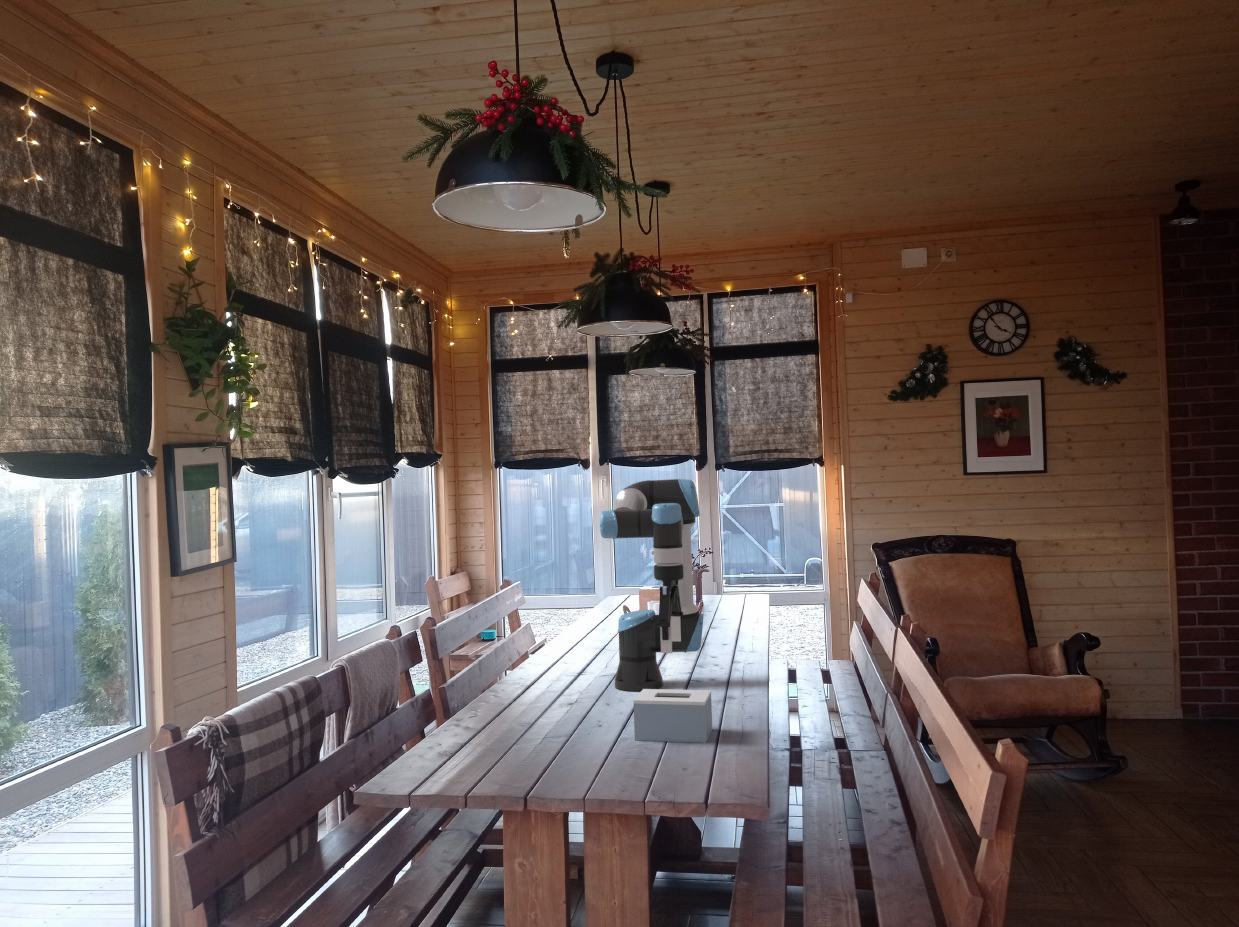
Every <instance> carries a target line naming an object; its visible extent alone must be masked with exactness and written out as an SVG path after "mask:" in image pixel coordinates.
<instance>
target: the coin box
mask: <svg viewBox="0 0 1239 927" xmlns="http://www.w3.org/2000/svg"><path fill="white" fill-rule="evenodd" d="M632 702H633V724H634V728H633V729H634V730H633V732H634V741H646V742H648V741H649V742H673V743H674V742H675V743H676V742H677V743H678V742H679V743H700V744H701V743H704V744H707V742H708V739H709V738H710V735H711V733H712V730H713V708H712V690H709V689H708V690H706V689H704V690H703V689H698V690H697V689H670V688H669V689H668V688H666V689H662V688H657V689H643V690H642V691H639V693H638V695H636V697H635V698H634V699H633V701H632Z"/></svg>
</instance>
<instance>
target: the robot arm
mask: <svg viewBox="0 0 1239 927" xmlns="http://www.w3.org/2000/svg"><path fill="white" fill-rule="evenodd" d="M700 516H701V513H700V504H699V499H698V494H697V487H696V483H695V482H694V481H693V480H692V479H682V478H675V479H673V478H672V479H654V480H650V479H649V480H648V479H647V480H641V481H637V482H635V483H633V484H630V485H628V486H626V487H625V488H623V489H622V490H621V491H620V492H619V493H618V494H617V496H616V500H615V507H614V508H613V509H609V510H603V511H601V512H600V514H599V531H600V532H599V533H600V536H601V538H604V539H612V540H616V539H634V538H635V539H636V538H637V539H640V538H642V539H643V538H644V539H646V538H652V540H653V541H652V542H653V544H652V545H653V546H652V547H653V550H651V555H652V556H653V562H654V564H655V565H654V566H653V575H654V576H653V579H654V580H656V581H660V582H662V585H661V586H659V588H658V590H659V603H658V604H659V608H658V614H656V612H655V610H654V609H639V610H635V611H630V612H626V613H624V614H621V615H620V616H619V618H618V627H617V628H618V629H617V632H618V653H619V654H618V655H619V656H618V657H619V659H618V660H619V662H618V666H617V670H616V674H615V677H614V687H615V689H618V690H621V691H627V692H641V691H642V690H643V689H661V688H662V687H663V685H664V683H663V676H662V672H661V669H660V668H659V667H660V666H659V665H658V660H657V653H661V654H672V653H691V652H698V651H699V650H700V648H701V645H702V638H703V637H702V636H703V627H704V626H703V625H704V614H703V613H700V612H699V610H700V609H699V607H698V606H697V605H696V604H695V603H694V583H693V582H694V580H693V576H694V575H693V552H692V550H693V549H692V527H693V526H694V525H695V524H696V518H698V517H700Z"/></svg>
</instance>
